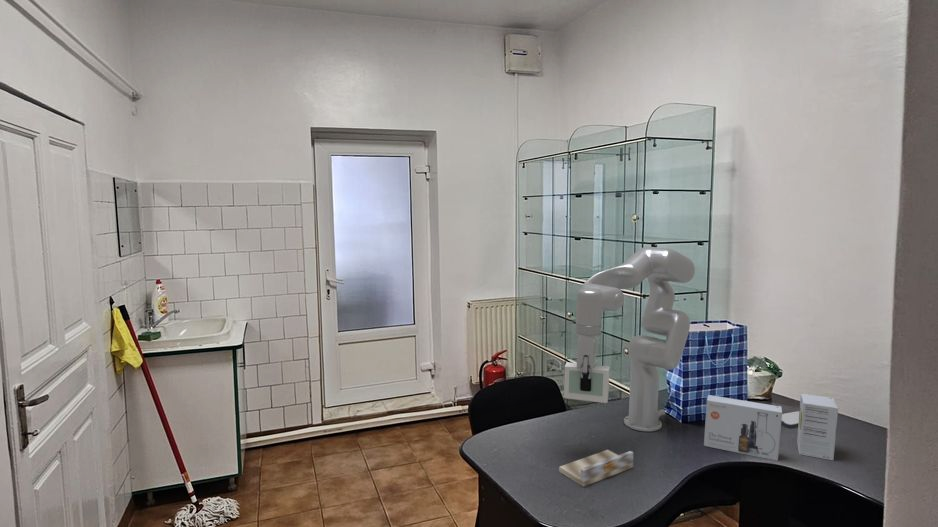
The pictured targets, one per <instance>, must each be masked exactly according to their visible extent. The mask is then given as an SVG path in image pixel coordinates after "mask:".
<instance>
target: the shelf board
mask: <svg viewBox="0 0 938 527" xmlns="http://www.w3.org/2000/svg"><path fill="white" fill-rule="evenodd" d="M633 467H634V452H633V451H631V450H629V451H627V452H624V453H623V452H622V453H620V454H617V453H615V452H613V451H611V450H609V449H605V450H603V451H600V452H597V453H594V454H591V455H588V456H586V457H583V458H580V459H577V460H574V461H571V462H569V463H566V464H563V465H560V466H559V467H558V472H559V473H560V474H562V475H564V476H565V477H567V478H569V479H570V480H572V481H573V482H575V483H576V484H578V485H580V486H581V487H587V486H589V485H592V484H594V483H596V482H600V481H602V480H605V479H607V478H609V477H613V476H615V475H617V474H620V473H623V472H625V471H627V470H631V469H632V468H633Z"/></svg>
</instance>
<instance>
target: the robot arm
mask: <svg viewBox="0 0 938 527" xmlns="http://www.w3.org/2000/svg"><path fill="white" fill-rule="evenodd" d="M695 273H696V268H695V264H694V262H693V260H692V259H690V258H689V257H687V256H686V255H684V254H682V253H681V252H679V251H677V250H674V249H672V248H667V247H656V246H655V247H654V246H644V247H641V248H638V249H637V250H636V251H635V252H634V253H633V254H632V255H631V256H630V257H629V258H628V259H626V260H625V261H624V262H622V263H621V264H620V265H618V266H614V267H611V268H609V269H605V270H602V271H600V272H597V273H595V274H593V275H592V276H591V277H590V278H587V280H586V281H585V282H584V283H583V284H582V285H581V286H580V288H579V290H577V293H576V309H575V310H576V311H575V334H576V335H577V336H578V338H577V339H578V340H577V341H578V342H577V354H576V363H577V368H579V367H581V365H582V368H581V378H580V390H581V391H589V392H590V391H591V369H593V367H594V365H595V364H596V357H597V342H598V341H597V339H598V338H599V337H601V336H602V319H603V317H602V315H603V312H615V311H618V310H619V309H621V308H622V307H623V305H624V302H625V295H624V293H623V291H622V290H627V289H634V288H636V287H638V286H639V285H640V284H641V283H643V282H644V281H645V280H646V279H647V282H648V287H649V295H648V299H647V303H646V306H645V308H644V310H643V311H644V312H643V316H642V318H641V322H640V323H641V329H642V330H643V331H644V332H646V333H649V334H652V335H656V336H660V337H667V339H662V338H658V337H655V336H649V335H645V334H642V335H641V334H640V335H635V336H633V337H632V338H631V339H630V341H629V342H628V346H627V348H628V349H627V352H628V356H629V367H630V371H629V372H630V373H629V374H630V375H629V377H630V378H629V396H628V397H629V399H628V400H629V404H628V408H629V409H628V415H627V416H625V417H624V418H623V423H624V424H625V426H626V427H627V428H629V429H632V430H635V431H640V432H649V433H650V432H656V431H659V430H660V429H661V428H662V427H663V425H662V423H663V422H662V421H661V420H660V419H659V418H660V417H661V416H664V415H666V411H665V409H664V408H662V409H658V408H659V389H660V386H659V385H660V378H659V377H660V376H659V373H658V372H659V371H658V370H657V368H659V369H663V370H669V371H672V370H675V369H677V368H678V366H679V365H680V362H681V359H682V358H683V353H684V350H685V346H686V343H687V341H688V340H687V339H688V336H689V333H690V326H691V325H690V324H691V322H690V318H689V315H688V314H687V313H686V312H684V311H682V310H677V309H673V306H674V303H675V299H676V295H675V291H674V290H673V288H672V286H671V284H670V282H672V283H680V284H686V283H689V282H691V281H692V280H693V278H694V276H695ZM588 366H590V368H588ZM587 370H589V372H588V371H587Z"/></svg>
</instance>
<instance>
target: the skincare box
mask: <svg viewBox="0 0 938 527" xmlns="http://www.w3.org/2000/svg"><path fill="white" fill-rule="evenodd" d="M705 408H706V409H705V424H704V435H703V436H704V439H703V446H704V447H706V448H707V447H709V448H712V449H717V450H723V451H728V452H732V453H736V454H741V455H747V456H751V457H752V456H753V457H758V458H763V459H767V460H772V461H777V462H778V461H779V452H780V442H781V430H782V425H781V420H782V414H783V408H782V406H781V405H775V404H774V405H773V404H767V403H760V402H757V401H755V402H754V401H750V400H749V401H748V400H742V399H737V398H730V397H724V396H718V395H713V394H712V395H711V394H708V395H707V398H706V407H705Z"/></svg>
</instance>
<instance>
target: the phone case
mask: <svg viewBox="0 0 938 527" xmlns="http://www.w3.org/2000/svg"><path fill="white" fill-rule="evenodd" d="M799 411H800V410H797V411H790V412H786V413H785V412H783V413H782V420H781V427H783V428H784V427H785V428H787V429H793V428H794V429H795V428H798V424H799Z"/></svg>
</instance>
